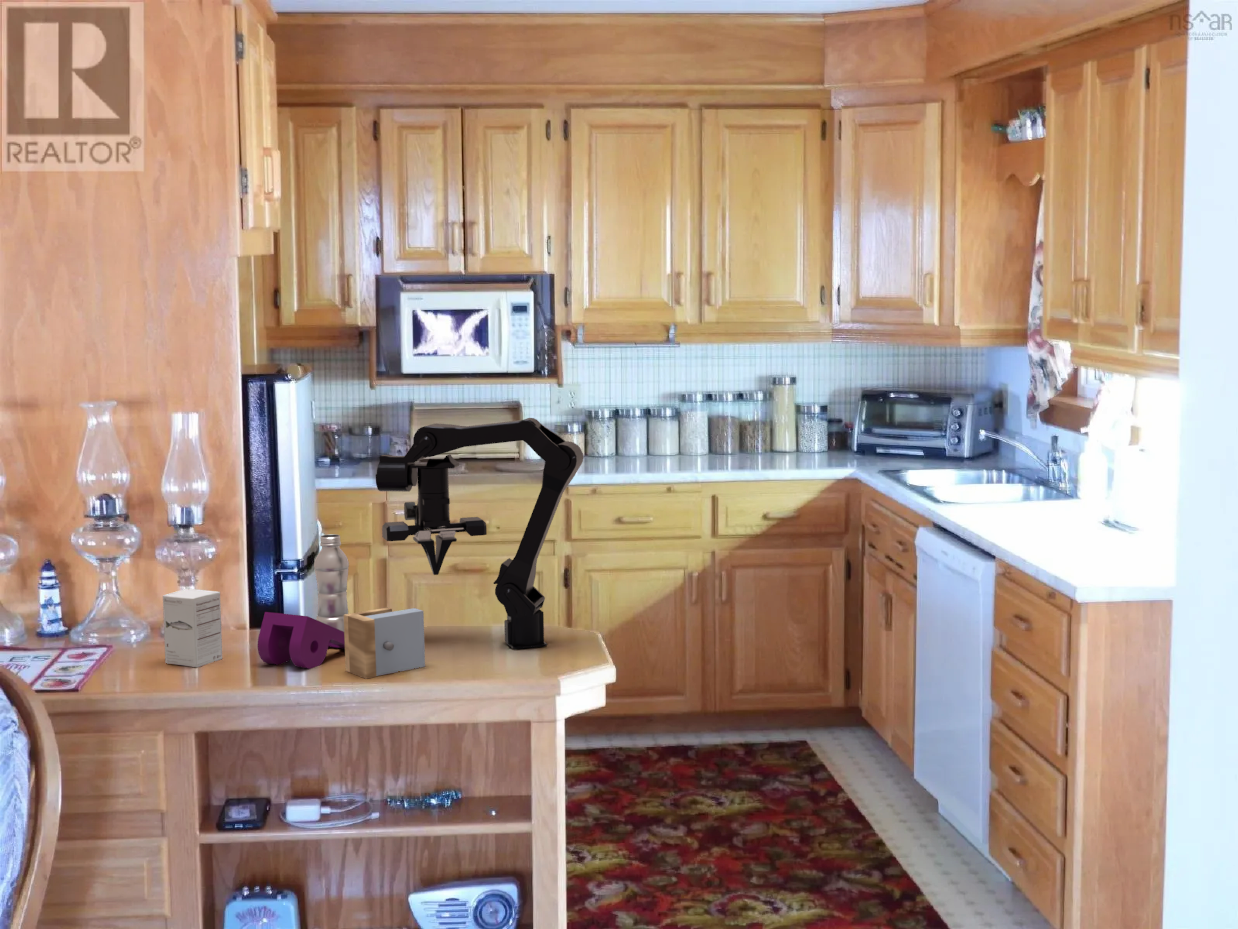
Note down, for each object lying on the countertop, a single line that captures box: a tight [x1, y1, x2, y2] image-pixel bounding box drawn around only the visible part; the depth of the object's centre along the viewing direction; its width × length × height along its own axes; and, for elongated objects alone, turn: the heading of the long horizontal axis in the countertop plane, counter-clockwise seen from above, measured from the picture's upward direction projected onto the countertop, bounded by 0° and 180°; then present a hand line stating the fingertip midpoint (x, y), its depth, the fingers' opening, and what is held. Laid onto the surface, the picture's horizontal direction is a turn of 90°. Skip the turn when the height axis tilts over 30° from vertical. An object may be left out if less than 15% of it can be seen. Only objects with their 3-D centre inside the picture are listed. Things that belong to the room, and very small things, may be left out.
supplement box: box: [162, 588, 223, 668], centre depth 266 cm, size 7×7×13 cm
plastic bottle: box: [313, 534, 350, 632], centre depth 281 cm, size 6×7×20 cm
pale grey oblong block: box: [365, 607, 426, 677], centre depth 258 cm, size 10×5×10 cm, turn 129°
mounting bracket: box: [257, 611, 345, 670], centre depth 267 cm, size 9×8×18 cm
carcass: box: [344, 607, 393, 680], centre depth 257 cm, size 9×7×10 cm
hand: (435, 574), depth 277 cm, fingers closed
